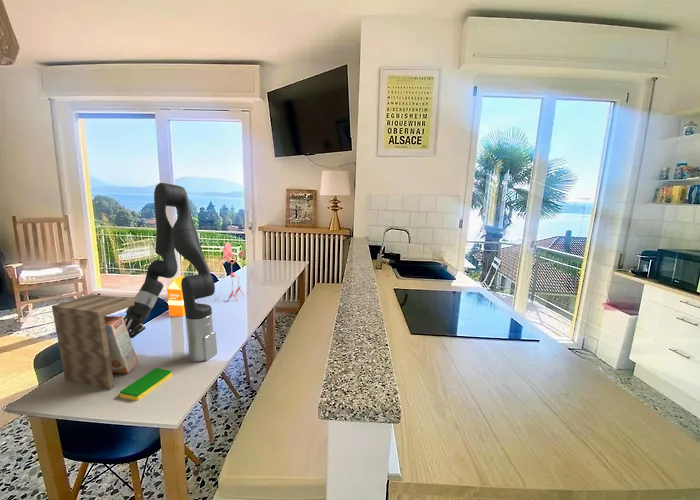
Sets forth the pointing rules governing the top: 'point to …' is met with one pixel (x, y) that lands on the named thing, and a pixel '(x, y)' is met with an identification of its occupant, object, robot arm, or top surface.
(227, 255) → the figurine
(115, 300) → the walnut shelf
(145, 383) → the dish sponge
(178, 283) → the orange juice
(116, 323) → the cracker box
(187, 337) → the robot arm
